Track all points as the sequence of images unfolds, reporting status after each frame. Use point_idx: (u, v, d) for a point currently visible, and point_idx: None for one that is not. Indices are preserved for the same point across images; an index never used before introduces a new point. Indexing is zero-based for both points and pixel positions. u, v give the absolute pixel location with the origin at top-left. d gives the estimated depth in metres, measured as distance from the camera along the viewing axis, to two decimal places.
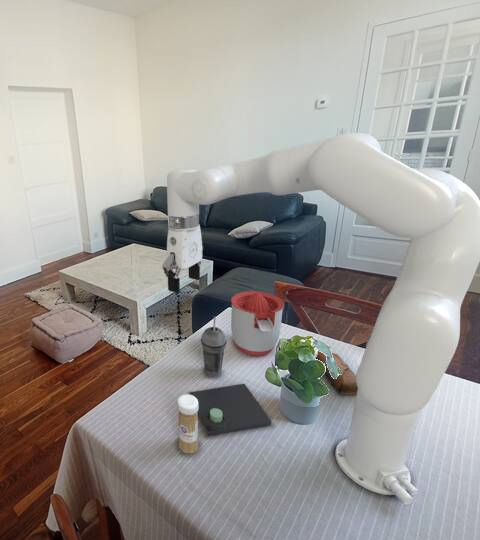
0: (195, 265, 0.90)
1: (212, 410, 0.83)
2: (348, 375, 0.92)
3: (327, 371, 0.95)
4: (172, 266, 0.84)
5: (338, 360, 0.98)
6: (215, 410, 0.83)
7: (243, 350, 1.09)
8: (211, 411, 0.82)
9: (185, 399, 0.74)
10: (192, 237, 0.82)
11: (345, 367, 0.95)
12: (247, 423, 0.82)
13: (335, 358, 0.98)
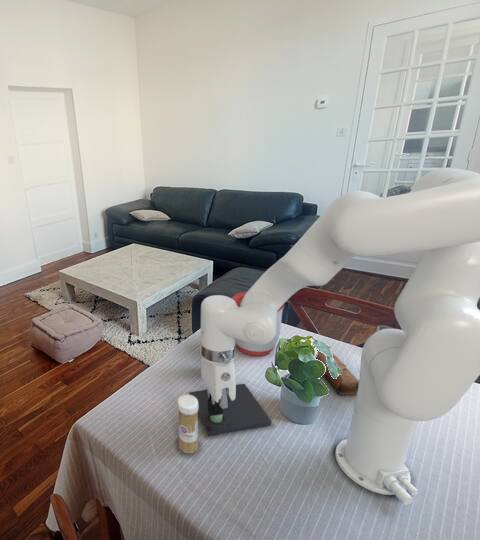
0: None
1: None
2: (346, 375, 0.93)
3: None
4: None
5: (335, 360, 0.98)
6: None
7: (243, 350, 1.09)
8: None
9: (185, 399, 0.74)
10: None
11: (343, 367, 0.95)
12: (247, 423, 0.82)
13: None
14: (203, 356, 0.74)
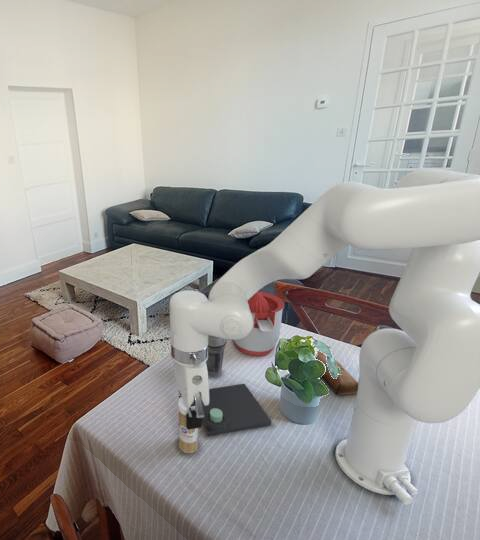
0: None
1: (212, 410, 0.83)
2: (344, 375, 0.93)
3: None
4: (192, 405, 0.70)
5: None
6: (215, 410, 0.83)
7: (243, 350, 1.09)
8: (211, 411, 0.82)
9: None
10: None
11: (339, 367, 0.95)
12: (247, 423, 0.82)
13: None
14: (173, 357, 0.68)
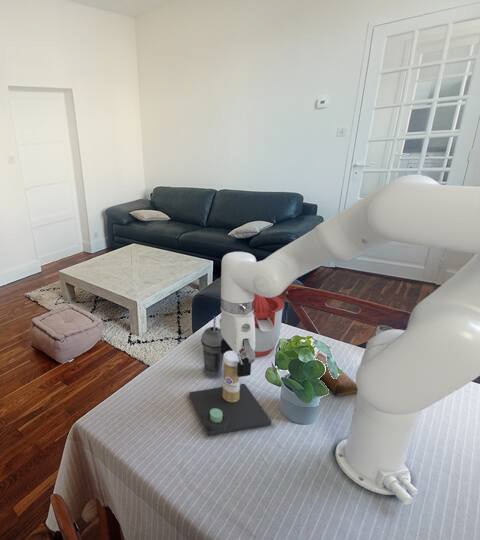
0: None
1: (212, 410, 0.83)
2: (340, 375, 0.93)
3: None
4: (242, 352, 0.80)
5: None
6: (215, 410, 0.83)
7: None
8: (211, 411, 0.82)
9: (230, 354, 0.86)
10: None
11: None
12: (247, 423, 0.82)
13: (323, 358, 0.99)
14: (224, 310, 0.79)
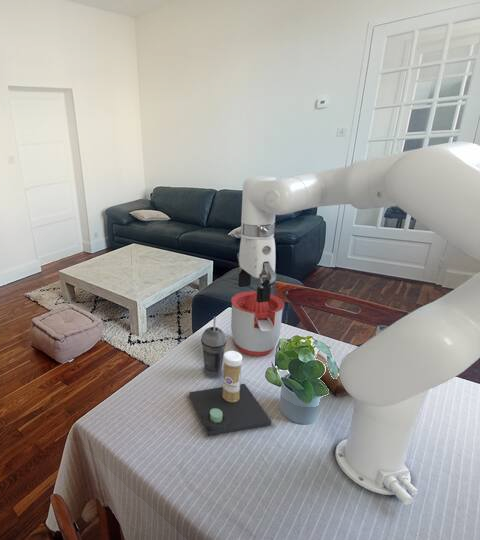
0: None
1: (212, 410, 0.83)
2: (339, 375, 0.93)
3: None
4: (262, 276, 0.81)
5: (324, 360, 0.98)
6: (215, 410, 0.83)
7: (243, 350, 1.09)
8: (211, 411, 0.82)
9: (230, 354, 0.86)
10: None
11: None
12: (247, 423, 0.82)
13: (321, 358, 0.99)
14: (244, 234, 0.80)
